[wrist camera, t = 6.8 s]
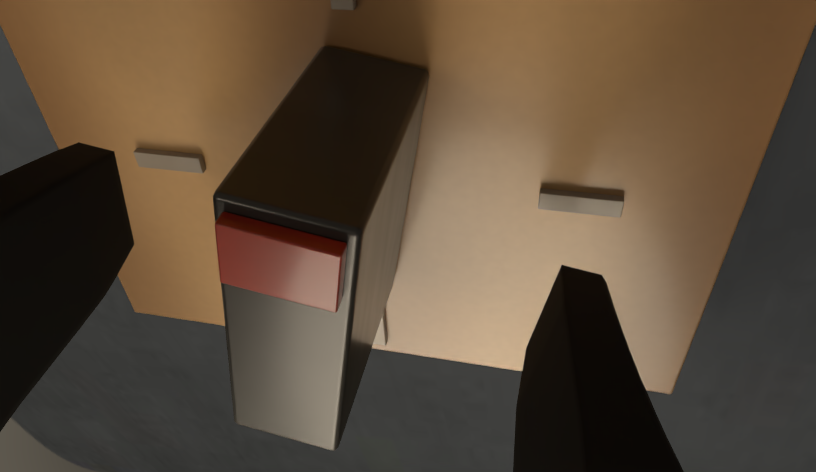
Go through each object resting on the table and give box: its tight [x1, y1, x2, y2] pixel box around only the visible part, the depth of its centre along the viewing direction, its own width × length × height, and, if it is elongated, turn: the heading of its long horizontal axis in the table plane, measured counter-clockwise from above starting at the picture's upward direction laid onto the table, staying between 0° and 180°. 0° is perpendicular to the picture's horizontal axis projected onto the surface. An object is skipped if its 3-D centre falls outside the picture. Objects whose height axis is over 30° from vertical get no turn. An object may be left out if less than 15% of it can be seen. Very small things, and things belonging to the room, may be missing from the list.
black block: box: [213, 46, 429, 450], centre depth 10 cm, size 5×2×4 cm, turn 171°
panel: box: [0, 0, 816, 394], centre depth 13 cm, size 13×10×3 cm
